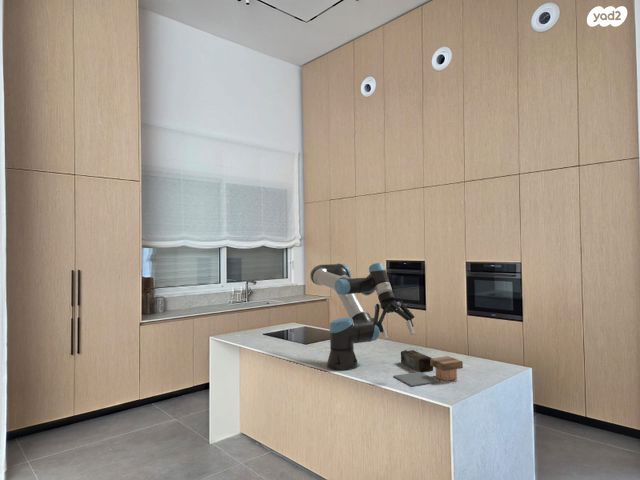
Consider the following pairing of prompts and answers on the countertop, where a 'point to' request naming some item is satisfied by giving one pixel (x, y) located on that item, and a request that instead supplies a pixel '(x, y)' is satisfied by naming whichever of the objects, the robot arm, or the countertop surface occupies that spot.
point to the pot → (446, 374)
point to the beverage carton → (416, 360)
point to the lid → (446, 363)
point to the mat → (416, 379)
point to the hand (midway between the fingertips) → (399, 336)
